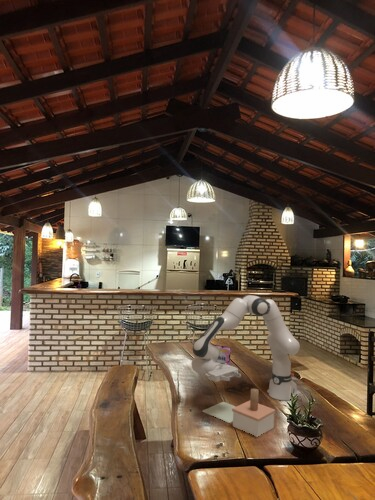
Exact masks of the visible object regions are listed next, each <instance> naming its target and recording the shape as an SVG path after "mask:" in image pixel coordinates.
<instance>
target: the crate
mask: <svg viewBox="0 0 375 500" xmlns="http://www.w3.org/2000/svg"><path fill="white" fill-rule="evenodd" d="M274 424H275V413H273V414H271V415H270V416H268V417H266V418H264V419H262V420H261V421H259V422H258V421H255V420H253V419H251V418H248V417H246V416H243V415H241V414H238V413H236V412H234V411H233V422H232V427H234V428H235V429H238V430H241V431H242V430H243V431H242V432H244V431H245V432H244V433H247V434H249V433H250V434H249V435H251V434H252V435H251V436H253V435H254V437H256V438H258V436H259V437H260V436H262V435H264V434H266V433H267V432H269V431H271V430H272V429H274V428H275V425H274ZM263 433H264V434H263ZM261 434H262V435H261Z"/></svg>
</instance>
